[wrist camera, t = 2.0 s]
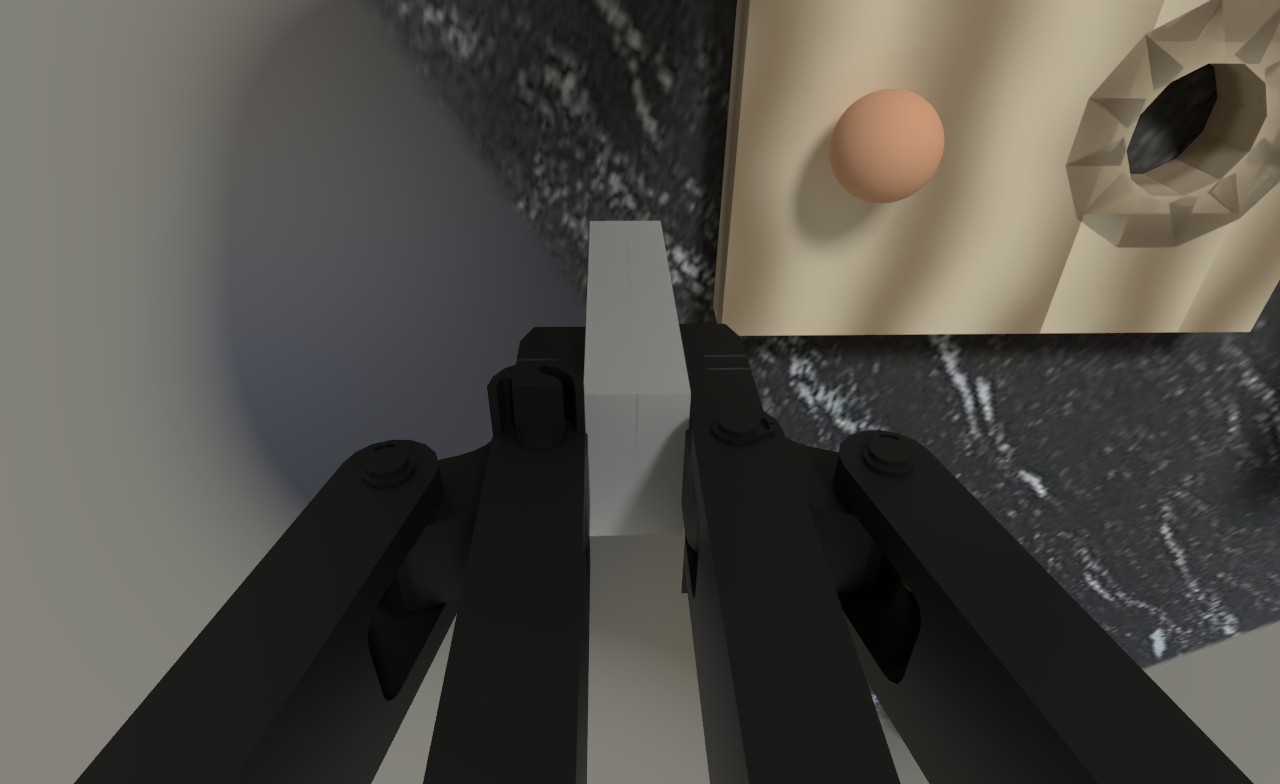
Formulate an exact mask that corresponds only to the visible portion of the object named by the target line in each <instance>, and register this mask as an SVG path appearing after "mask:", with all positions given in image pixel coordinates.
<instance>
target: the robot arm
mask: <svg viewBox="0 0 1280 784" xmlns="http://www.w3.org/2000/svg"><path fill="white" fill-rule="evenodd" d="M487 390H488V398H489V406H490V414H491V422H492V430H493V438H492V441H491V442H489V443H488V444H487V445H485V446H483V447H481V448H479V449H477V450H475V451H472V452H469V453H465V454H462V455H459V456H454V457H450V458H446V459H441V460H437V456H436V453H435V452H434V451H432V450H431V449H430V448H429V447H428V446H427V445H425V444H422V443H419V442H415V441H412V440H389V441H385V442H380V443H376V444H372V445H370V446H368V447H366V448H364V449H361V450H359V451H357V452H355V453H354V454H353V455H352V456H351V457H350V458H348V459H347V460H346V461H345V462H344V463H343V464H342V465H341V466H340V467H339V468H338V470H337V471H336V472H335V473H334V474H333V476H332V477H331V478H330V479H329V480H328V482H327V483H326V484H325V485H324V486H323V488H322V489H321V490H320V491H319V492H318V493H317V495H316V496H315V497H314V498H313V499H312V501H311V502H310V503H309V504H308V505H307V507H306V508H305V509H304V510H303V511H302V512H301V514H300V515H299V516H298V517H297V518H296V520H295V521H294V522H293V523H292V524H291V526H290V527H289V528H288V529H287V530H286V532H285V533H284V534H283V535H282V537H281V538H280V539H279V540H278V541H277V542H276V544H275V545H274V546H273V547H272V548H271V550H270V551H269V552H268V553H267V554H266V555H265V557H264V558H263V559H262V560H261V561H260V562H259V564H258V565H257V566H256V567H255V569H254V570H253V571H252V572H251V573H250V575H249V576H248V577H247V578H246V579H245V580H244V582H243V583H242V584H241V585H240V586H239V587H238V589H237V590H236V591H235V592H234V594H233V595H232V596H231V597H230V598H229V599H228V601H227V602H226V603H225V604H224V605H223V607H222V608H221V609H220V610H219V611H218V612H217V614H216V615H215V616H214V617H213V618H212V620H211V621H210V622H209V623H208V624H207V626H206V627H205V628H204V629H203V630H202V632H201V633H200V634H199V635H198V636H197V638H196V639H195V640H194V641H193V642H192V643H191V645H190V646H189V647H188V648H187V650H186V651H185V652H184V653H183V654H182V655H181V657H180V658H179V659H178V660H177V661H176V663H175V664H174V665H173V666H172V667H171V668H170V670H169V671H168V672H167V673H166V674H165V676H164V677H163V678H162V679H161V680H160V682H159V683H158V684H157V685H156V687H155V688H154V689H153V690H152V691H151V692H150V694H149V695H148V696H147V697H146V698H145V699H144V701H143V702H142V703H141V704H140V706H139V707H138V708H137V709H136V710H135V712H134V713H133V714H132V715H131V716H130V717H129V718H128V720H127V721H126V722H125V723H124V724H123V726H122V727H121V728H120V729H119V730H118V732H117V733H116V734H115V735H114V736H113V738H112V739H111V740H110V741H109V742H108V744H107V745H106V746H105V747H104V748H103V749H102V751H101V752H100V753H99V754H98V755H97V757H96V758H95V759H94V760H93V761H92V763H91V764H90V765H89V766H88V767H87V769H86V770H85V771H84V772H83V773H82V774H81V776H80V777H79V778H78V779H77V780H76V782H75V783H74V784H371V783H372V781H373V779H374V777H375V775H376V773H377V771H378V769H379V767H380V765H381V763H382V761H383V759H384V757H385V755H386V753H387V751H388V749H389V747H390V745H391V743H392V741H393V739H394V737H395V735H396V733H397V731H398V729H399V727H400V725H401V723H402V721H403V719H404V717H405V715H406V713H407V711H408V709H409V707H410V705H411V703H412V701H413V699H414V697H415V695H416V693H417V691H418V689H419V687H420V685H421V683H422V681H423V679H424V677H425V675H426V673H427V671H428V669H429V667H430V665H431V663H432V662H433V660H434V658H435V656H436V654H437V651H438V649H439V647H440V646H441V644H442V642H443V640H444V638H445V636H446V634H447V632H448V630H449V628H450V626H451V624H452V622H453V620H454V617H455V616H456V614H457V617H456V622H455V627H454V632H453V637H452V642H451V647H450V652H449V657H448V662H447V667H446V672H445V676H444V682H443V686H442V692H441V697H440V701H439V707H438V711H437V717H436V722H435V726H434V731H433V736H432V741H431V746H430V751H429V756H428V761H427V766H426V771H425V776H424V781H423V784H587V735H588V672H589V669H588V668H589V667H588V666H589V610H590V607H589V606H590V541H589V536H621V535H669V534H682V528H683V520H684V528H685V548H684V564H683V579H682V593H688V600H689V608H690V617H691V625H692V634H693V642H694V651H695V659H696V667H697V676H698V685H699V692H700V701H701V710H702V718H703V727H704V736H705V744H706V752H707V761H708V770H709V778H710V784H900V781H899V778H898V775H897V772H896V769H895V766H894V763H893V760H892V757H891V754H890V751H889V748H888V745H887V742H886V739H885V735H884V732H883V729H882V726H881V723H880V720H879V717H878V714H877V711H876V708H875V705H874V702H873V699H872V696H871V693H870V690H869V687H868V684H869V685H870V687H871V689H872V690H873V692H874V693H875V695H876V697H877V698H878V700H879V702H880V703H881V705H882V707H883V708H884V710H885V711H886V713H887V715H888V716H889V718H890V720H891V721H892V723H893V725H894V726H895V728H896V729H897V731H898V733H899V734H900V736H901V738H902V739H903V741H904V743H905V744H906V746H907V748H908V749H909V751H910V752H911V754H912V756H913V757H914V759H915V761H916V762H917V764H918V766H919V767H920V769H921V770H922V772H923V774H924V775H925V777H926V779H927V780H928V782H929V784H1253V783H1252V782H1251V780H1249V778H1248V777H1247V776H1245V774H1244V773H1243V772H1242V771H1241V770H1240V769H1239V768H1238V767H1237V766H1236V765H1235V764H1234V763H1233V762H1232V761H1231V760H1230V759H1229V758H1228V757H1227V756H1226V755H1225V754H1224V753H1223V752H1222V751H1221V750H1220V749H1219V748H1218V747H1217V746H1216V745H1215V744H1214V743H1213V742H1212V740H1210V738H1209V737H1207V736H1206V734H1205V733H1204V732H1203V731H1202V730H1201V729H1200V728H1199V727H1198V726H1197V725H1196V724H1195V723H1194V722H1193V721H1192V720H1191V719H1190V718H1189V717H1188V716H1187V715H1186V714H1185V713H1184V712H1183V711H1182V710H1181V709H1180V708H1179V707H1178V706H1177V705H1176V704H1175V703H1174V702H1173V700H1172V699H1171V698H1169V696H1168V695H1167V694H1166V693H1165V692H1164V691H1163V690H1162V689H1161V688H1160V687H1159V686H1158V685H1157V684H1156V683H1155V682H1154V681H1153V680H1152V679H1151V678H1150V677H1149V676H1148V675H1147V674H1146V673H1145V672H1144V671H1143V670H1142V669H1141V668H1140V667H1139V666H1138V665H1137V664H1136V663H1135V661H1134V660H1133V659H1132V658H1131V657H1130V656H1129V655H1128V654H1127V653H1126V652H1125V651H1124V650H1123V649H1122V648H1121V647H1120V646H1119V645H1118V644H1117V643H1116V642H1115V641H1114V640H1113V639H1112V638H1111V637H1110V636H1109V635H1108V634H1107V633H1106V632H1105V631H1104V630H1103V629H1102V628H1101V627H1100V626H1099V625H1098V624H1097V623H1096V621H1095V620H1094V619H1093V618H1092V617H1091V616H1090V615H1089V614H1088V613H1087V612H1086V611H1085V610H1084V609H1083V608H1082V607H1081V606H1080V605H1079V604H1078V603H1077V602H1076V601H1075V600H1074V599H1073V598H1072V597H1071V596H1070V595H1069V594H1068V593H1067V592H1066V591H1065V590H1064V589H1063V588H1062V587H1061V586H1060V585H1059V584H1058V582H1057V581H1056V580H1055V579H1054V578H1053V577H1052V576H1051V575H1050V574H1049V573H1048V572H1047V571H1046V570H1045V569H1044V568H1043V567H1042V566H1041V565H1040V564H1039V563H1038V562H1037V561H1036V560H1035V559H1034V558H1033V557H1032V556H1031V555H1030V554H1029V553H1028V552H1027V551H1026V550H1025V549H1024V548H1023V547H1022V546H1021V545H1020V544H1019V542H1018V541H1017V540H1016V539H1015V538H1014V537H1013V536H1012V535H1011V534H1010V533H1009V532H1008V531H1007V530H1006V529H1005V528H1004V527H1003V526H1002V525H1001V524H1000V523H999V522H998V521H997V520H996V519H995V518H994V517H993V516H992V515H991V514H990V513H989V512H988V511H987V510H986V509H985V508H984V507H983V506H982V505H981V504H980V502H979V501H978V500H977V499H976V498H975V497H974V496H973V495H972V494H971V493H970V492H969V491H968V490H967V489H966V488H965V487H964V486H963V485H962V484H961V483H960V482H959V481H958V480H957V479H956V478H955V477H954V476H953V475H952V474H951V473H950V472H949V471H948V470H947V469H946V468H945V467H944V466H943V465H942V464H941V462H940V461H939V460H938V459H937V458H936V457H935V456H934V455H933V454H932V453H931V452H930V451H929V450H927V449H926V448H925V447H923V446H922V445H921V444H919V443H918V442H917V441H915V440H913V439H910V438H908V437H905V436H903V435H901V434H898V433H892V432H887V431H882V430H873V431H861V432H858V433H855V434H852V435H850V436H848V437H847V438H846V439H845V440H844V441H843V442H842V443H841V445H840V449H839V452H834V451H829V450H824V449H819V448H814V447H810V446H806V445H802V444H799V443H796V442H794V441H792V440H790V439H787V438H786V437H785V435H784V432H783V429H782V428H781V426H780V425H779V423H778V422H777V420H776V419H774V418H773V417H771V416H770V415H768V414H767V413H765V412H764V411H763V407H762V404H761V401H760V398H759V395H758V391H757V388H756V385H755V382H754V379H753V375H752V372H751V369H750V366H749V363H748V359H747V356H746V353H745V350H744V347H743V343H742V340H741V337H740V336H738V335H737V334H736V333H735V332H734V331H733V330H732V329H731V328H729V327H728V326H727V325H726V324H679V323H678V317H677V311H676V306H675V300H674V294H673V289H672V283H671V277H670V272H669V266H668V260H667V255H666V249H665V243H664V238H663V232H662V226H661V221H590V240H589V265H588V289H587V314H586V327H534V328H533V329H532V330H531V331H530V332H529V333H528V334H527V335H526V336H525V337H524V338H523V339H522V340H521V341H520V346H519V350H518V356H517V361H516V365H513V366H510V367H508V368H505V369H503V370H502V371H500V372H499V373H498V374H496V375H495V376H493V378H492V379H491V381H490V383H489V384H488V386H487ZM866 680H867V681H866ZM867 682H868V684H867Z"/></svg>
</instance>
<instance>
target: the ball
mask: <svg viewBox="0 0 1280 784" xmlns="http://www.w3.org/2000/svg"><path fill="white" fill-rule="evenodd" d="M944 141H945V140H944V130H943V126H942V122H941V120H940V118H939V116H938V114H937V112H936V110H935V109H934V108H933V107H932V105H931V104H930V103H929V102H927V101H926V100H925V99H924V98H923V97H921V96H919V95H918V94H915V93H913V92H910V91H907V90H903V89H883V90H878V91H875V92H872V93H869V94H867V95H865V96H863V97H861V98H860V99H858V100H857V101H855V102H854V103H853V104H852V105H851V106H850V107H849V108H848V109H847V110H846V111H845V112H844V113H843V114H842V116H841V117H840V119H839V120H838V122H837V124H836V126H835V128H834V131H833V134H832V137H831V141H830V150H829V151H830V162H831V167H832V170H833V172H834V174H835V176H836V178H837V180H838V182H839V183H840V184H841V186H842V187H843V188H844V189H845V190H846V191H847V192H849V193H850V194H851V195H853V196H855V197H856V198H858V199H861V200H863V201H866V202H871V203H881V204H883V203H892V202H896V201H899V200H902V199H905V198H907V197H909V196H911V195H913V194H914V193H916V192H917V191H919V190H920V189H921V188H922V187H923V186H925V185H926V184H927V182H928V181H929V180H930V179H931V178H932V176H933V175H934V173H935V172H936V170H937V168H938V166H939V164H940V161H941V158H942V155H943V151H944Z"/></svg>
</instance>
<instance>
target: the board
mask: <svg viewBox="0 0 1280 784" xmlns="http://www.w3.org/2000/svg"><path fill="white" fill-rule="evenodd" d="M1209 63H1210V64H1211V65H1212V66H1213V67H1214V68H1215V77H1216V88H1217V100H1216V102H1215V105H1214V107H1213V109H1212V111H1211V114H1210V116H1209V118H1208V120H1207V123H1206V125H1205V127H1204V130H1203V132H1202V133H1201V134H1200V135H1199V136H1198V137H1197V138H1196V139H1195V140H1194V141H1193V142H1192V143H1191V144H1190V145H1189V146H1188V147H1187V148H1186V149H1185V150H1184V151H1183V152H1182V153H1181V154H1180V155H1179V156H1178V157H1177V158H1176V159H1174V160H1172V161H1170V162H1168V163H1165V164H1163V165H1161V166H1159V167H1157V168H1155V169H1153V170H1151V171H1149V172H1146V173H1144V174H1130V170H1129V164H1128V158H1127V152H1126V150H1127V147H1128V145H1129V142H1130V140H1131V137H1132V135H1133V132H1134V129H1135V127H1136V124H1137V122H1138V119H1139V117H1140V115H1141V114H1142V112H1143V111H1144V110H1145V109H1146V108H1147V107H1148V106H1149V105H1150V104H1151V103H1152V102H1153V101H1154V100H1155V99H1156V97H1157V96H1158V95H1159V94H1160V93H1161V92H1162V91H1163V90H1164V89H1165V88H1166V87H1167V86H1168V85H1169V83H1171V82H1173V81H1175V80H1177V79H1179V78H1181V77H1183V76H1185V75H1187V74H1189V73H1191V72H1193V71H1195V70H1197V69H1199V68H1201V67H1203V66H1205V65H1207V64H1209ZM883 89H903V90H907V91H910V92H913V93H915V94H918V95H919V96H921V97H923V98H924V99H925V100H926V101H927V102H929V103H930V104H931V105H932V107H933V108H934V109H935V110H936V112H937V114H938V116H939V118H940V120H941V122H942V126H943V130H944V140H945V141H944V151H943V155H942V158H941V161H940V164H939V166H938V168H937V170H936V172H935V173H934V175H933V176H932V178H931V179H930V180H929V181H928V182H927V184H926V185H925V186H923V187H922V188H921V189H920V190H919V191H917V192H916V193H914V194H913V195H911V196H909V197H907V198H905V199H902V200H899V201H896V202H892V203H883V204H881V203H871V202H866V201H863V200H861V199H858V198H856V197H855V196H853V195H851V194H850V193H849V192H847V191H846V190H845V189H844V188H843V187H842V186H841V184H840V183H839V182H838V180H837V178H836V176H835V174H834V172H833V170H832V167H831V162H830V151H829V150H830V141H831V137H832V134H833V131H834V128H835V126H836V124H837V122H838V120H839V119H840V117H841V116H842V114H843V113H844V112H845V111H846V110H847V109H848V108H849V107H850V106H851V105H852V104H853V103H854V102H855V101H857V100H858V99H860V98H861V97H863V96H865V95H867V94H869V93H872V92H875V91H878V90H883ZM1279 280H1280V0H737V10H736V22H735V35H734V48H733V60H732V73H731V85H730V98H729V111H728V123H727V136H726V148H725V161H724V174H723V186H722V199H721V211H720V224H719V237H718V249H717V262H716V274H715V287H714V300H713V309H714V313H715V316H716V320H717V324H726V325H727V326H728V327H729V328H731V329H732V330H733V331H734V332H735V333H736V334H737V335H738V336H786V335H912V334H1039V333H1166V332H1250V331H1251V329H1252V328H1253V326H1254V324H1255V322H1256V321H1257V319H1258V317H1259V315H1260V314H1261V312H1262V310H1263V308H1264V306H1265V305H1266V303H1267V301H1268V299H1269V298H1270V296H1271V294H1272V292H1273V290H1274V289H1275V287H1276V285H1277V283H1278V282H1279Z"/></svg>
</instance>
